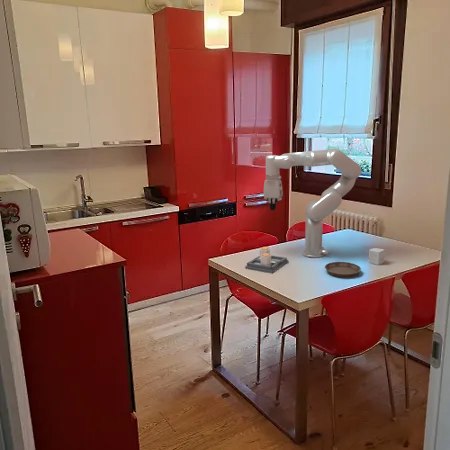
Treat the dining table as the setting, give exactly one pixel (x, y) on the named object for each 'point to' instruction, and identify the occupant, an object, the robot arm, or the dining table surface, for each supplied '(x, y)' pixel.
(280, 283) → the dining table surface
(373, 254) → the product box
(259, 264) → the grey compartment tray
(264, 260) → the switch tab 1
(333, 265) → the plant saucer
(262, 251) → the white orange-topped block
